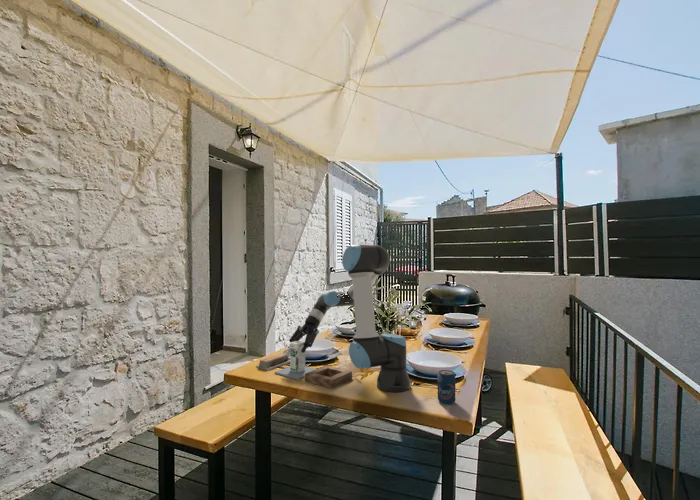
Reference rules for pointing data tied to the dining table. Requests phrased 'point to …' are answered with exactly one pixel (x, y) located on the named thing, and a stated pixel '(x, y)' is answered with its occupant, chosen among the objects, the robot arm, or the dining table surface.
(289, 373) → the slate pad
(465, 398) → the dining table surface
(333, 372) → the walnut holder
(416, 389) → the dining table surface
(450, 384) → the soda can
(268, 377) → the dining table surface
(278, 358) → the packaged product
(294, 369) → the syrup box
